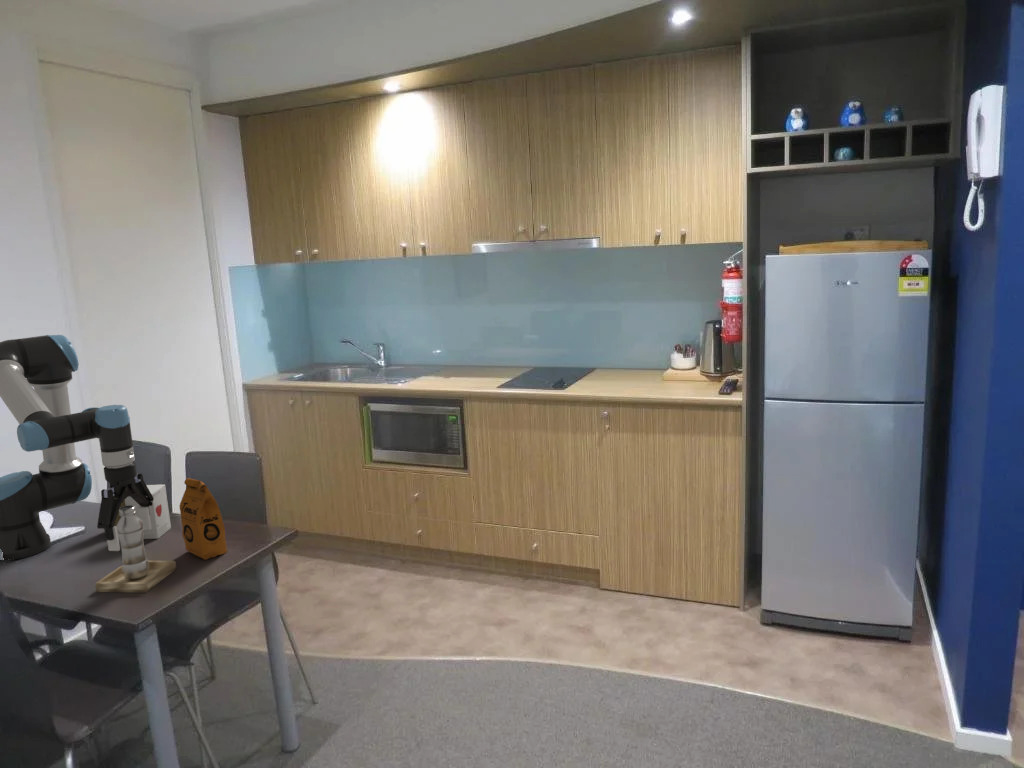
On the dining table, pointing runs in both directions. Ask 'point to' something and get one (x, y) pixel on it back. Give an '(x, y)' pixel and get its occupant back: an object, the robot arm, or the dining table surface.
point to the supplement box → (155, 512)
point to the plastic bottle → (132, 544)
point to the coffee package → (201, 521)
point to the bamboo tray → (140, 585)
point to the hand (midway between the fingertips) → (130, 539)
